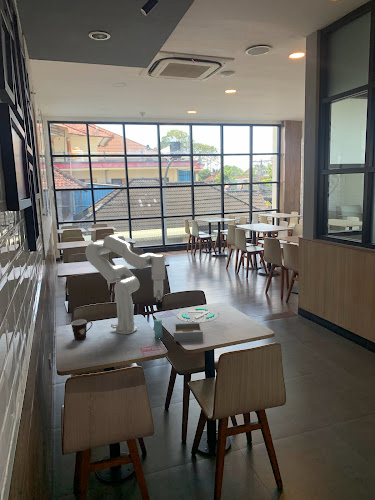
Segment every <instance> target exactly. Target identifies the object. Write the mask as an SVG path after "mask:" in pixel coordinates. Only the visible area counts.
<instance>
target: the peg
mask: <svg viewBox="0 0 375 500" xmlns="http://www.w3.org/2000/svg"><path fill="white" fill-rule="evenodd" d="M153 327H154V328H153V329H154V338H155V339H158V340H159V339H162V338H163V320H162V319H158V318H157V319H154V320H153Z"/></svg>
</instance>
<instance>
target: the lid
mask: <svg viewBox="0 0 375 500" xmlns="http://www.w3.org/2000/svg"><path fill="white" fill-rule="evenodd" d="M206 308H207V307H190V308H186V311H185V309H182V310H180V311H178V313H179V314H177V313H176V318H177V319H178V320H180V321H182V322H185V321H186V322H185V323H193V322H192V321H194V320H192V321H189V320H188V322H187V319H190V317H189V316H186V314H185V313H183V312H187V311H188V313H201V314H196V315H194V316H193V317H194V318H195V319H196V320H197V321H194V323H196V322H197V323H198V322H200V323H201V324H202V322H203V323H208V322H209V321H208V319H209V318H212V317H214V315H215V314H213V313H210V312H211V311H208V309H206ZM195 310H196V311H195ZM198 310H205V311H198ZM208 313H210V315H209V316H208V317H206V319H207V321H208V322H207V321H206V320H205V318H204V319H203V320H202V317H204V315H207V314H208ZM185 318H186V320H185ZM194 318H193V319H194ZM200 318H201V319H200ZM210 320H211V319H210ZM212 321H213V320H211V321H210V322H212Z"/></svg>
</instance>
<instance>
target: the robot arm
mask: <svg viewBox="0 0 375 500" xmlns="http://www.w3.org/2000/svg"><path fill="white" fill-rule="evenodd" d="M111 252H113V253H115V254H117V255H118V256H120V257H122V258H123V260H124V261H125V263H127V264H128V265H130V266H131V267H133V268H135V269H139V270H143V269H146V268H148V267H151V280H152V281H153V298H156V301H155V305H156V307H155V308H156V309H157V310H160V309H163V296H164V281H165V279H166V263H165V262H166V260H165V259H166V258H165V255H163V254H160V253H159V254H155V253H153V252H146V253H143V254H137V253H135V252H134V251H132V245H131V244H130V242H127V241H126V238H125V237H124V236H123V234H120V233H114V234H110V235H107V236H105V237H104V239H103V240H97V241H94V242H91V243H88V244H87V246H86V248H85V258H86V259H87V261H88V262H89V264H90V265H92V266H93V267H94V268H95V269H96V270H97V272H99V273H100V275H101V276H102V277H103V278H104V279H105V280H106V281H107V282H109V283H110V284H113V283H115V284H114V287H113V291H114V295H115V300H116V301H115V302H116V315H117V323H114V324H113V323H110V328H112V329H115V332H116V333H117V334H119V335H130V334H133V333H135V332H137V330H138V327H137V326H136V325H135V317H134V302H133V298H132V296H131V294H132V293H134V292H136V291H138V289H140V285H141V284H140V281H139V279H138V278H137V276H135V274H134V273H133V272H132V271H131V270H130V269H129V268H128V267H127V266H126V265H124V264H116V265H113V264H112V263H111V262H110V261H109V260H108V259H107V258H105V257H103V256H102V255H105V254H109V253H111Z"/></svg>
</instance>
